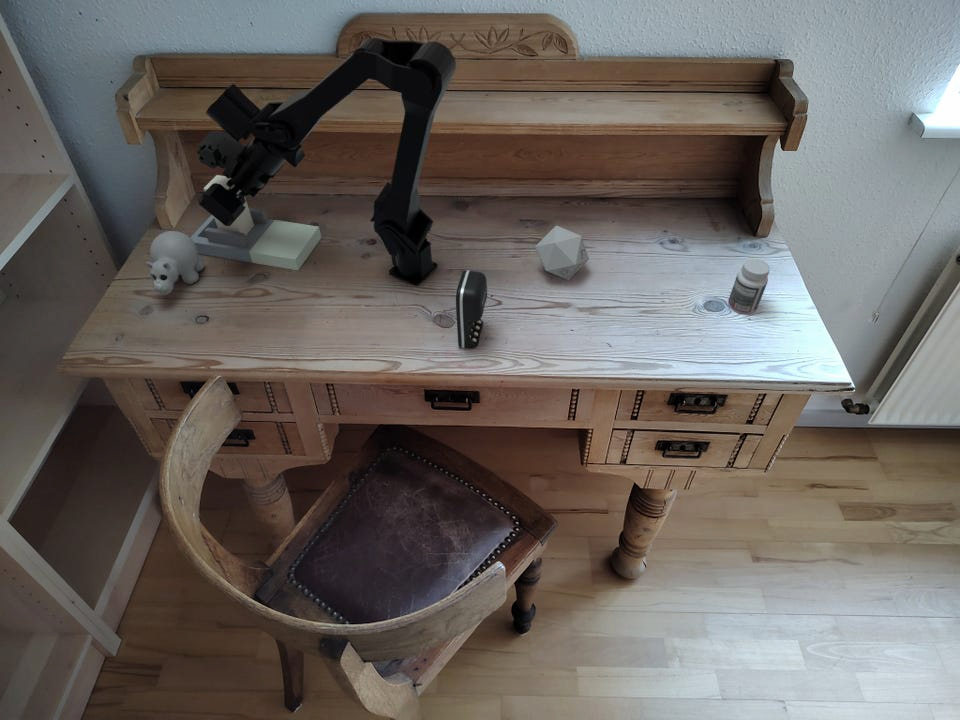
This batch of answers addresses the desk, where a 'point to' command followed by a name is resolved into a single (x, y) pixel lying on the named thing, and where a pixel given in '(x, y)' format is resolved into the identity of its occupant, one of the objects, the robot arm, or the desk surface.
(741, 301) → the pill bottle
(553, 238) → the die
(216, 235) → the channel
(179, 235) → the grey rounded figurine
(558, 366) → the desk surface
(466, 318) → the battery charger
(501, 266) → the desk surface
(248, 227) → the block
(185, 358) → the desk surface
